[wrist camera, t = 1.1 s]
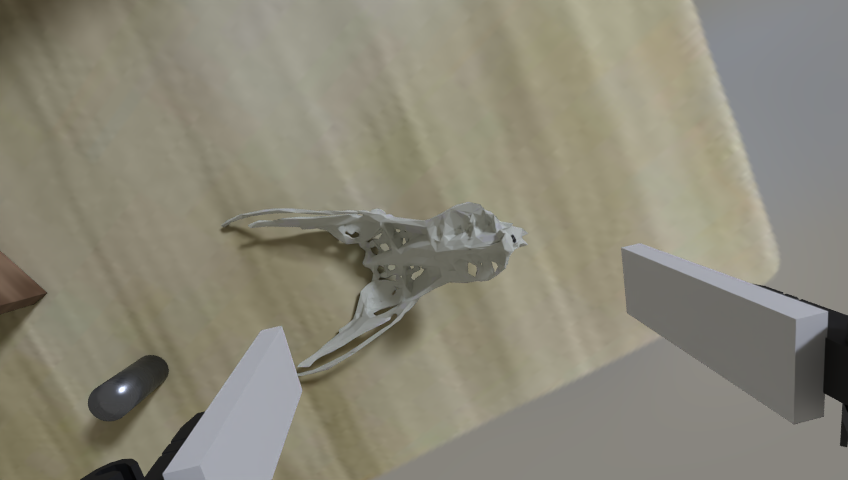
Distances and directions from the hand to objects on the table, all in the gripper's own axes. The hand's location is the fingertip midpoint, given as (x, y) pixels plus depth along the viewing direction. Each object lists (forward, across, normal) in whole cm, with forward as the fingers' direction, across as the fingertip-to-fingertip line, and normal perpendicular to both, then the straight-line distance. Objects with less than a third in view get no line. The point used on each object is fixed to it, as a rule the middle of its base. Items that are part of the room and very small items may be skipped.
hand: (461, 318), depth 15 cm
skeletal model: (+24, -5, -4) cm, 25 cm away
